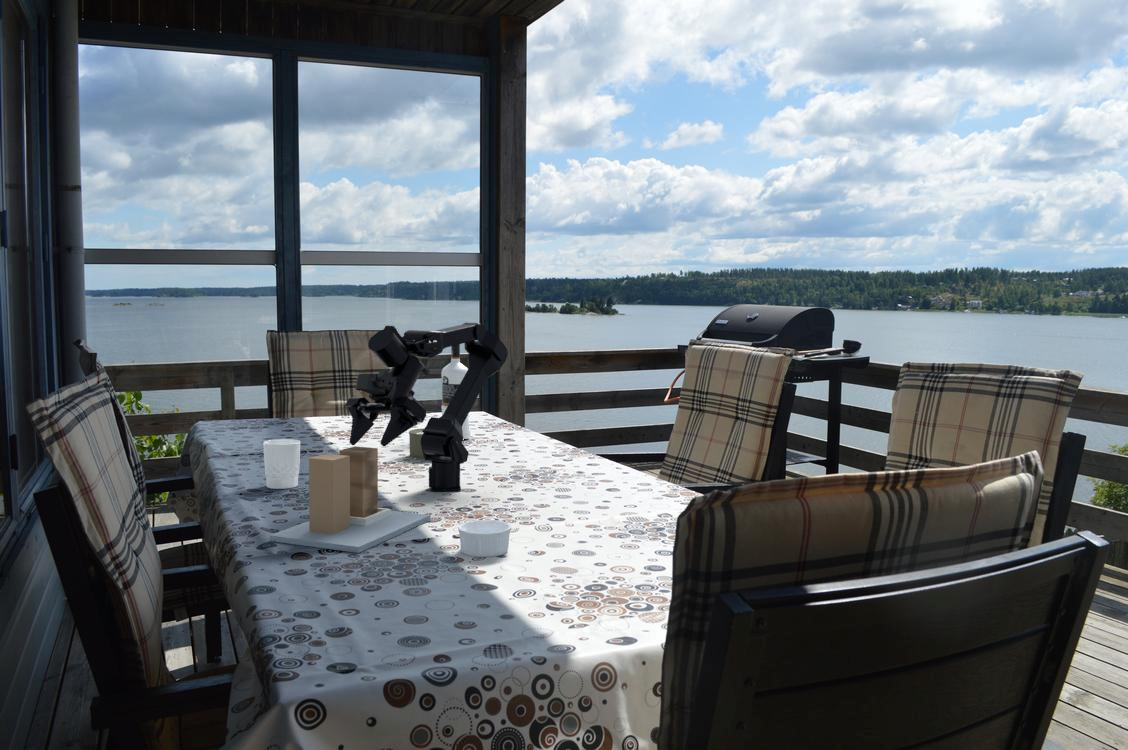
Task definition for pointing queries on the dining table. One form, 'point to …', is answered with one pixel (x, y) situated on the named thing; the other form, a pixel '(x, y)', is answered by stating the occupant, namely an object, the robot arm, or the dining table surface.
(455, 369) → the vodka
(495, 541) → the ramekin
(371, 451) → the walnut pillar
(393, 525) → the baseplate
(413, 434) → the can
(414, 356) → the robot arm
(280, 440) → the white cup
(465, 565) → the dining table surface
